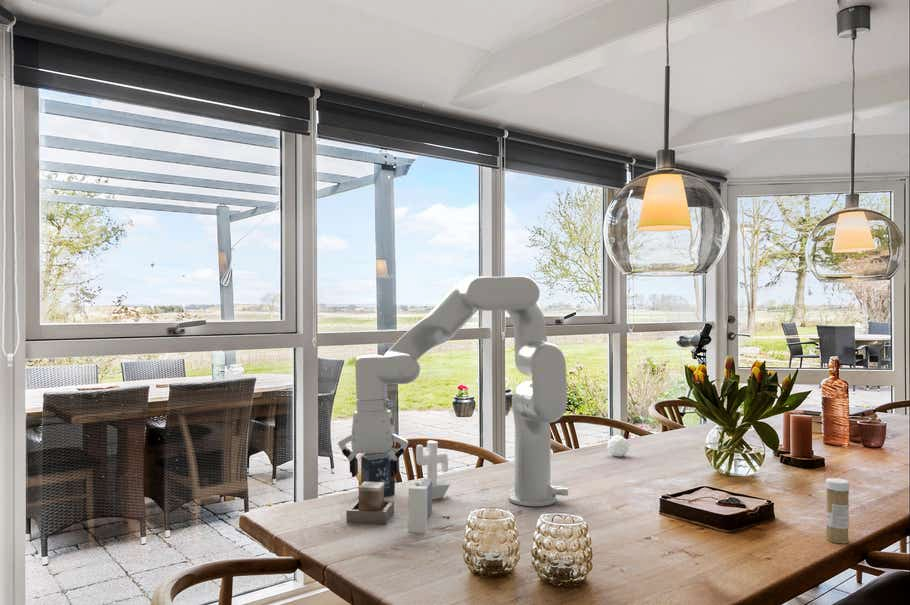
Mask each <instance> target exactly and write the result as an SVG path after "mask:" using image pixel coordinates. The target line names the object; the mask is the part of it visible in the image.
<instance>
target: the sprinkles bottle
mask: <svg viewBox="0 0 910 605" xmlns="http://www.w3.org/2000/svg"><path fill="white" fill-rule="evenodd" d="M825 488H826V503H825V504H826V510H825V511H826V514H825V515H826V516H825V517H826V518H825V520H826V521H825V524H826V533H825V534H826V535H825V538H826V540H828V541H829V542H832V543H836V544H847V543H848V544H849V542H850V540H849V525H850V522H849V521H850V519H849V518H850V515H849V514H850V504H849V502H850V501H849V493H850V492H849V491H850V490H851V489H850V481H848V480H846V479H842V478H839V477H838V478H836V477H829V478H826V480H825Z"/></svg>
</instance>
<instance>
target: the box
mask: <svg viewBox="0 0 910 605" xmlns="http://www.w3.org/2000/svg"><path fill="white" fill-rule="evenodd" d="M360 457H361V460H360V461H361V464H360V485H361V484H362V483H363V482H385V486H384V497H385V496H394V495H396V493H395V492H396V491H395V490H396V487H395V486H396V475H395V476H394V477H391V469H390V461H391V460H392V458H391V457H390V456H389V455H388V454H387V453H374V454H370V455H369V454H368V455H361V456H360Z"/></svg>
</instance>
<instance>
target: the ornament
mask: <svg viewBox="0 0 910 605" xmlns="http://www.w3.org/2000/svg"><path fill="white" fill-rule="evenodd" d="M609 438H610V439H609V440H608V441H607V446H606V447H607V450H608V451H609V453H610V454H611V455H612V456H613V457H618V458H621V457H623V456H626V454H627V453H628V452H629V449H630V446H629V445H630V443H629V442H628V440H627V439H626V438H625V437H624V436H622V435H614V436H612V435H610V436H609Z"/></svg>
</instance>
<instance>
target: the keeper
mask: <svg viewBox="0 0 910 605" xmlns="http://www.w3.org/2000/svg"><path fill="white" fill-rule="evenodd" d="M394 513H395V500H390V499H389V500H388V499H386V500H385V499H384V509H383V511H376V510H359V498H357V499H356V500H355V501H354V502H353V503H352V504H351V505H350V506H349V507H348V508H347V510H346V513H345V514H346V524H353V525H356V524H357V525H359V524H360V525H378V526H379V525H381V526H385V525H386V526H387V524H388V522H389V521H390V519H391V518H392V516H393V515H394Z"/></svg>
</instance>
